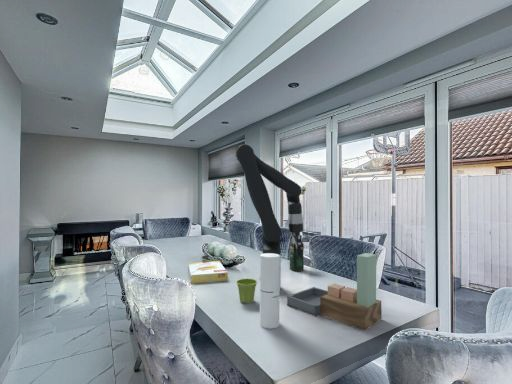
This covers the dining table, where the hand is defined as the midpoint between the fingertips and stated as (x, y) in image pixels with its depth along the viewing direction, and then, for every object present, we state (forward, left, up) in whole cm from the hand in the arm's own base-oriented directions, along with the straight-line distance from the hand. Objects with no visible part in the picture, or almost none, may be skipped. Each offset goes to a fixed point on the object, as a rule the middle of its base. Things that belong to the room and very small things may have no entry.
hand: (297, 253), depth 144 cm
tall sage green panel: (+18, -41, -10) cm, 46 cm away
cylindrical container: (-18, -41, -18) cm, 48 cm away
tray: (+3, -23, -17) cm, 29 cm away
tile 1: (+10, -31, -10) cm, 35 cm away
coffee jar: (+7, +36, -18) cm, 41 cm away
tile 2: (+14, -36, -10) cm, 40 cm away
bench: (+14, -36, -17) cm, 42 cm away
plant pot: (-26, -18, -18) cm, 36 cm away
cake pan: (-45, +56, -18) cm, 74 cm away
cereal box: (-49, +24, -18) cm, 58 cm away
